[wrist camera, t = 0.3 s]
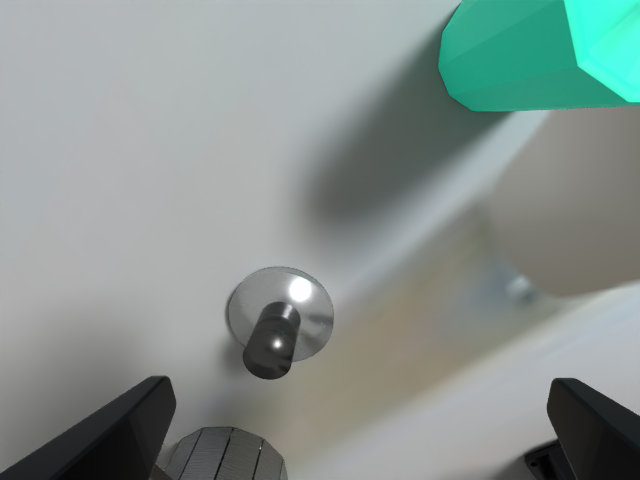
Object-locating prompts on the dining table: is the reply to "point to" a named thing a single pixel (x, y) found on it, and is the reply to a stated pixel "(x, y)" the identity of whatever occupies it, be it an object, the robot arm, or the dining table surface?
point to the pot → (223, 457)
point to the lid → (280, 319)
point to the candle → (542, 54)
